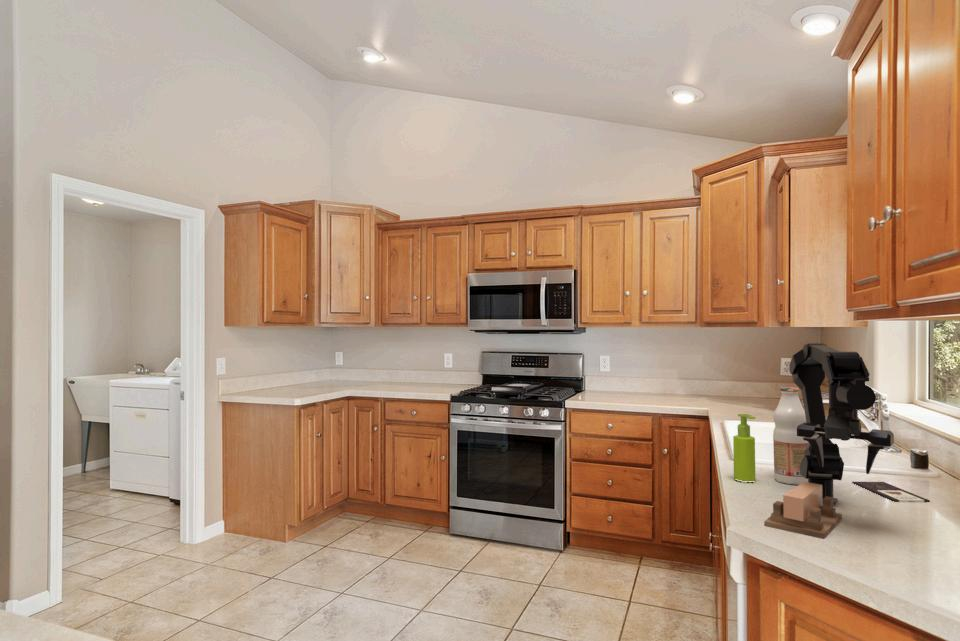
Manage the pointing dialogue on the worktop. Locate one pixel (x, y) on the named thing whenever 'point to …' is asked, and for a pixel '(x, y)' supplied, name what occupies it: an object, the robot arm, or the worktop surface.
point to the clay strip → (802, 501)
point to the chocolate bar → (891, 492)
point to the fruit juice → (788, 437)
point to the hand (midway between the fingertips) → (844, 470)
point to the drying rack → (814, 525)
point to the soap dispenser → (744, 451)
